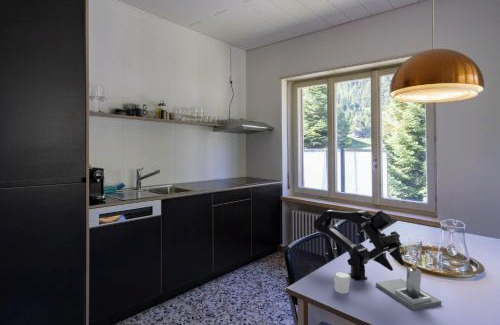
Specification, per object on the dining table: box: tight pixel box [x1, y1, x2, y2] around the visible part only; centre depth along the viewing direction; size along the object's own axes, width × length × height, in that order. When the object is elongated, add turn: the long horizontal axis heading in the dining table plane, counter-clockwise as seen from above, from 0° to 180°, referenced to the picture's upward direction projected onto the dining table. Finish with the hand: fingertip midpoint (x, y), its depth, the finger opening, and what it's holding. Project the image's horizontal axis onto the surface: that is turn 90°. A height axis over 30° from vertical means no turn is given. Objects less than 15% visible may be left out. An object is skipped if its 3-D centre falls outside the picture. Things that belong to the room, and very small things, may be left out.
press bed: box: [375, 278, 442, 311], centre depth 120 cm, size 20×14×3 cm
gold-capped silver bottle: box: [405, 262, 422, 299], centre depth 115 cm, size 5×5×14 cm
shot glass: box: [333, 271, 352, 295], centre depth 123 cm, size 7×7×7 cm
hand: (398, 267), depth 120 cm, fingers open, 9 cm apart
